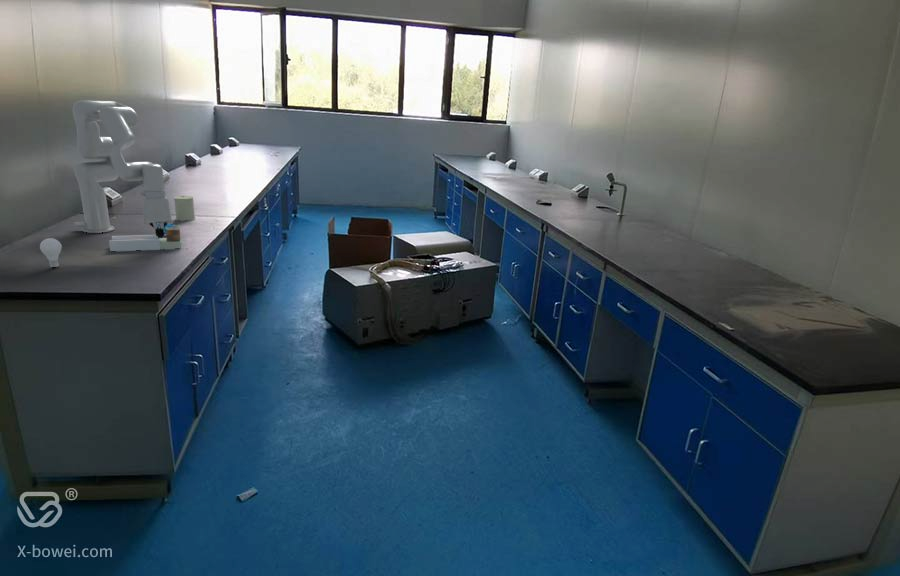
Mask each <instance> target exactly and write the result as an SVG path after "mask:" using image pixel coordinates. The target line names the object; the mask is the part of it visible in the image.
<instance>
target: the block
mask: <svg viewBox="0 0 900 576" xmlns="http://www.w3.org/2000/svg"><path fill="white" fill-rule="evenodd" d="M165 236H166V237H165V238H167V242H175V241H180V239H182V237H181V228H180V227H179V226H178V227H171V228H166V234H165Z"/></svg>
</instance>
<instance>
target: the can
mask: <svg viewBox="0 0 900 576" xmlns="http://www.w3.org/2000/svg"><path fill="white" fill-rule="evenodd" d="M173 201H174V208H175V220H176V221H178V220H182V221H181V222H186V221H185V220H192V221H195V220H196V216H195V215H196V214H195V207H194V206H195V204H194V197H193V196H191V195H178V196H174V197H173ZM194 219H195V220H194Z"/></svg>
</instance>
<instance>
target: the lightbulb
mask: <svg viewBox="0 0 900 576" xmlns="http://www.w3.org/2000/svg"><path fill="white" fill-rule="evenodd" d="M39 249H40V251H41V253H43V254H44V256H45V257H46V258H47V260H48V263H49V267H50V268H52V267H56V268H58V267H59V254H61V252H62V249H63V245H62V244H61V242H60V241H59V240H58V239H56V238H54V237H51V238H50V237H49V238H48V237H47V238H45V239H43V240H42V241H41V242H40V244H39Z"/></svg>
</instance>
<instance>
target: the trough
mask: <svg viewBox="0 0 900 576" xmlns="http://www.w3.org/2000/svg"><path fill="white" fill-rule="evenodd" d="M108 243H109V251H110V252H111V251H116V252H134V251H135V252H136V250H141V251H158V250H159V251H163V250H162V249H165V250H176V249H175V248H181V249H182V247H183V246H182V245H183V240H182V238H181V239H180V241H175V242H167V237H162V238H158V236H156V234H135V235H112V236H111V240H108ZM181 246H182V247H181ZM160 249H161V250H160Z"/></svg>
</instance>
